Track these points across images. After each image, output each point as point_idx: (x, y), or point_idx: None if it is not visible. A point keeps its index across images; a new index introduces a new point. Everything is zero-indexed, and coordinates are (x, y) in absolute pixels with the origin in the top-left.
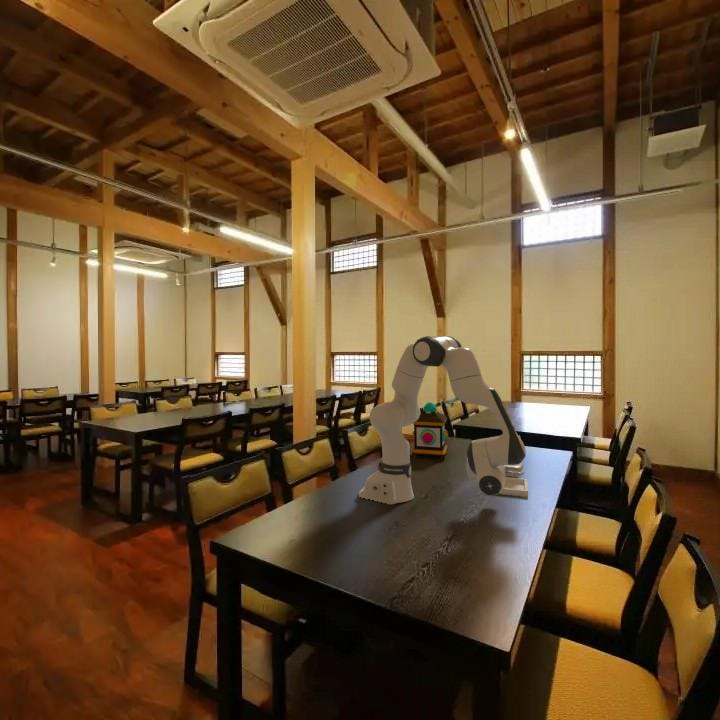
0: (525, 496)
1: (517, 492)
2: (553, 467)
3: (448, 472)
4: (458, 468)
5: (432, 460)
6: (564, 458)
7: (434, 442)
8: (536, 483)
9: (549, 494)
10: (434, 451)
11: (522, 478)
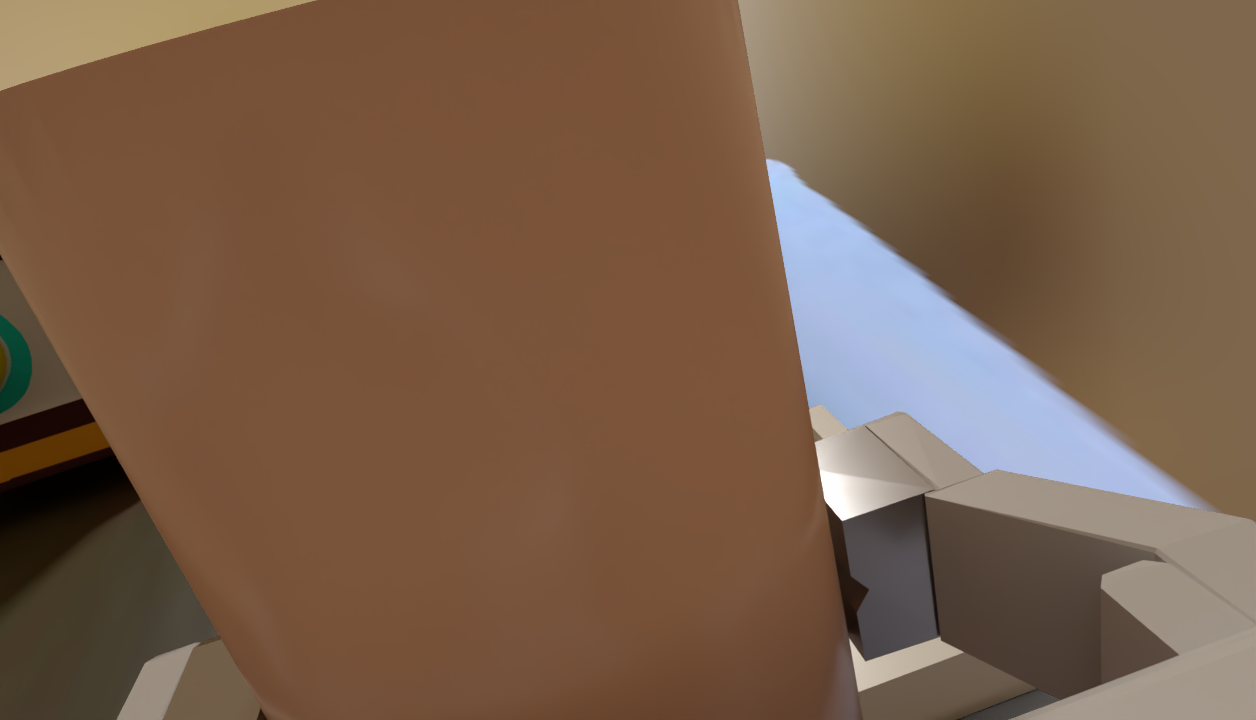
0: (1022, 686)
1: (929, 690)
2: (812, 239)
3: (152, 612)
4: None
5: (77, 507)
6: (797, 182)
7: (26, 378)
8: (872, 401)
9: (1128, 492)
10: (57, 442)
11: None
